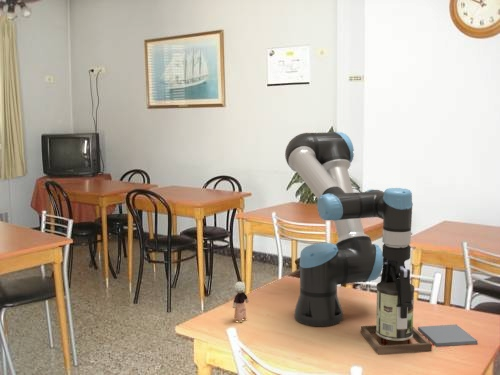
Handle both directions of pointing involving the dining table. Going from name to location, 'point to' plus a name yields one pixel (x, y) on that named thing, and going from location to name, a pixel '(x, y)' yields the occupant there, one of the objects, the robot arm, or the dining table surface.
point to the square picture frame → (393, 349)
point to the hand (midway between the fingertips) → (394, 320)
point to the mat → (447, 335)
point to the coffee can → (391, 313)
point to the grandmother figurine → (240, 302)
